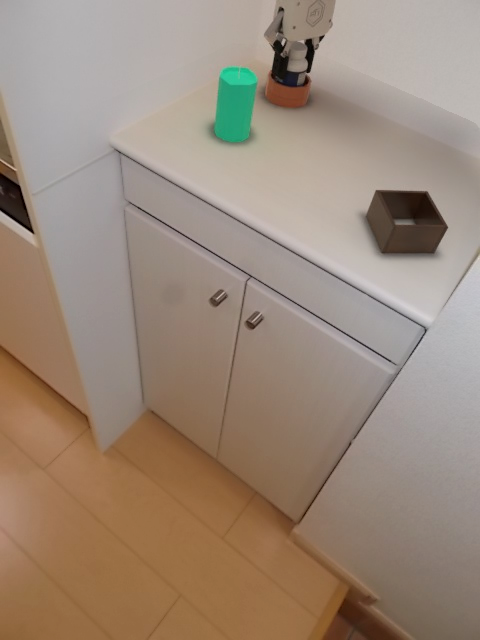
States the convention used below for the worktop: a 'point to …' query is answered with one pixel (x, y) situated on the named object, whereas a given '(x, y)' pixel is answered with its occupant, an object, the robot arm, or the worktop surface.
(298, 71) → the pill bottle
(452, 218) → the worktop surface
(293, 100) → the bowl
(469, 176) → the worktop surface
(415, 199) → the box
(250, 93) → the candle
